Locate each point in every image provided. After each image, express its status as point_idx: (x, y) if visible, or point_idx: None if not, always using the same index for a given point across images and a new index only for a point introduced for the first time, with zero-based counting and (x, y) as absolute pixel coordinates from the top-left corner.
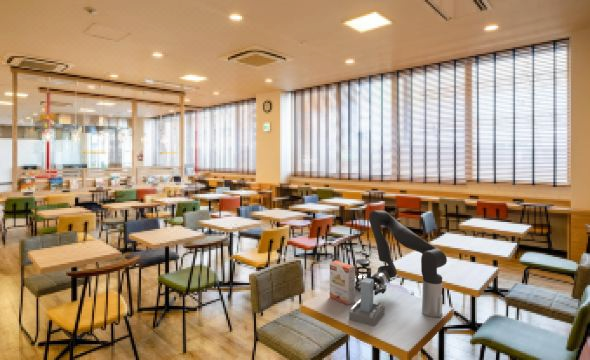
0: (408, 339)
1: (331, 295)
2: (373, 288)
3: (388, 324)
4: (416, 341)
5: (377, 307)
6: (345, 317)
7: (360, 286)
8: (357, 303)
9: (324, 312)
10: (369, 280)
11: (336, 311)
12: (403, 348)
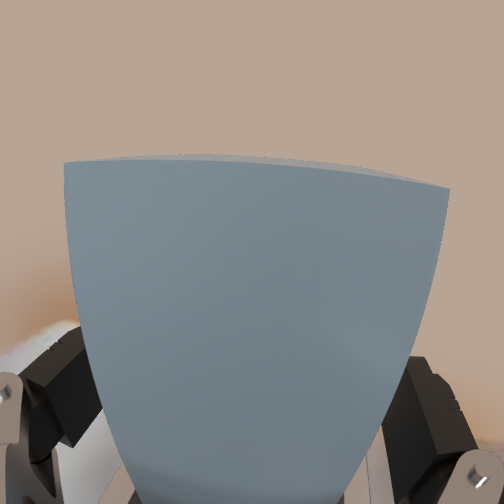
0: (30, 359)
1: None
2: (113, 431)
3: (74, 463)
4: (10, 350)
5: (120, 479)
6: (379, 471)
7: (425, 397)
8: (353, 501)
9: (496, 447)
10: (211, 156)
11: None
12: (72, 323)
